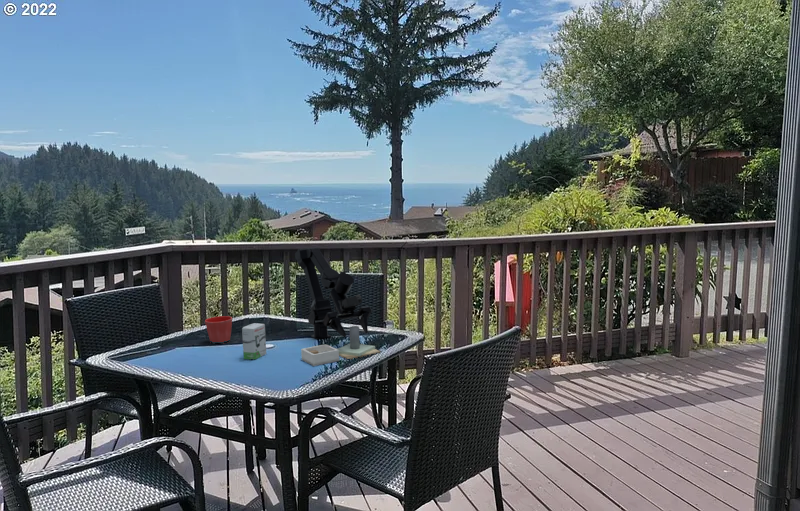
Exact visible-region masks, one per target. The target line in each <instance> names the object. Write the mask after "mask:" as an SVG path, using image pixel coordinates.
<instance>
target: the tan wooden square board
mask: <svg viewBox="0 0 800 511" xmlns="http://www.w3.org/2000/svg"><path fill="white" fill-rule="evenodd" d="M362 344H363V345H365V344H364V343H362ZM338 348H339V347H337V348H336V349H338ZM380 352H381V353H382V351H381V350H379V349H376V348H375V349H373V350H371V351H369V352H367V353H365V354H363V355H361V356H354V355H347V354H340V353H339V357H340V358H343V359H345V358H346V359H345V360H347V359H350V360H354V359H353V358H355V359H359V358H358V357H360V358H363V356H364V357H368V356H367V355H369V356H372V355H371V354H374V355H377V354H376V353H378V354H381V353H380Z"/></svg>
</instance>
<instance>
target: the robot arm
mask: <svg viewBox="0 0 800 511" xmlns="http://www.w3.org/2000/svg"><path fill="white" fill-rule="evenodd" d="M294 256H295V260H296V262H297V264H298V266H299V267H300V268H301V269H303V272H304V276H305V279H306V283H307V286H308V291H309V294H310V297H311V301H312V303H311V305H310V313H309V314H308V317H307V321H308V324H311V325H313V326H312V327H313V334H311V335H310V337H311V338H312V339H313V338H314V339H316V340H321V339H327V338H331V337H332V335H330V334H328V328H331V329H333V330H334V331H336V332H337V333H339V335H341V336H342V337H343V338H346V337H347V334H346V331H345V329H344V327H343V325H342V323H341V320H348V319H353V318H357V320H358V323H359V325H360V326H361V329H363V332H365V334H367V333H368V332H369V329H368V320H369V317H370V316H371V315H372V313H373V310H372V308H371V307H370V306H362V307H360V308H359V310H358V311H356V309H357V306H359V305H360V304H361V303H362V302H363V299H362V296H361V294H355V295H354V296H352V297H348V296H347V294H348V293H349V292H350V290H351V288H352V287H353V284H354V281H355V279H354V277H353V276H352V275H350V274H348V273H346V271H340V272H338V270H335V269H334V268H332V267H331V266H330V264H329V263H328V261H327V259H326V258H325V257H324V255H323V253H322V250H321V248H320V247H308V248H297V251H295V253H294ZM317 271H318V272H317ZM318 273H319V274H320V277H321V279H319V276H318ZM320 283H321V284H320ZM321 285H322V287H323V288H324V290H330V291H329V296H328V298H327V299H326V297H324V293H323V290H322V287H321ZM330 300H332V302H333V304H334V311H333V308H332V305H331V301H330Z"/></svg>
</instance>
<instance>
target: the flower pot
mask: <svg viewBox="0 0 800 511" xmlns="http://www.w3.org/2000/svg"><path fill="white" fill-rule="evenodd" d="M204 321H205V322H204V323H205V327H206V330H207V335H208V338H209V342H210V341H212V342H224V341H228V340H230V341H231V335H232V326H233V317H232V316H229V315H228V316H227V315H223V316H222V315H221V316H213V317H209V318H205V320H204Z"/></svg>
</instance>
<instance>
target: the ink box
mask: <svg viewBox="0 0 800 511" xmlns="http://www.w3.org/2000/svg"><path fill="white" fill-rule="evenodd" d="M241 330H242V331H241V332H242V333H241V335H242V349H243V350H242V352H243V360H251V359H253V360H254V359H255V360H257V359H259V358H261V357H263V356H266V355H267V341H266V338H267V337H266V325H265V323H257V322H256V323H255V322H254V323H250V324H248V325H245V326H243V327H242V328H241ZM253 360H252V361H253ZM255 360H254V361H255Z"/></svg>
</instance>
